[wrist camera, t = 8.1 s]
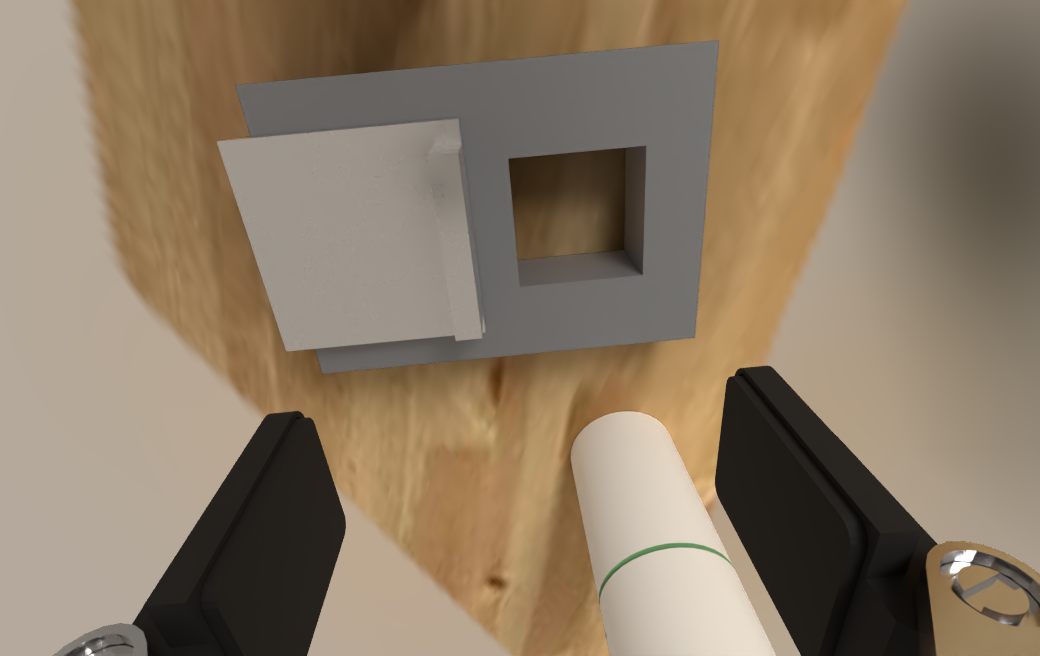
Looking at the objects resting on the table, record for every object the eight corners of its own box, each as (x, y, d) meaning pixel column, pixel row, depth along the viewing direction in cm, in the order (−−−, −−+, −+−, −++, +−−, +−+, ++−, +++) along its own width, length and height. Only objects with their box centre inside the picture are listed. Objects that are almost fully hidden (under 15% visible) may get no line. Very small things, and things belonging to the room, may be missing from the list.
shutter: (225, 139, 22) (184, 150, 19) (459, 117, 22) (454, 124, 19) (291, 343, 27) (266, 378, 24) (485, 325, 27) (484, 357, 24)
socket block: (271, 82, 25) (234, 85, 21) (686, 43, 25) (718, 40, 21) (341, 338, 31) (322, 373, 28) (671, 306, 31) (694, 337, 28)
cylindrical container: (584, 501, 38) (714, 1110, 16) (558, 428, 35) (675, 1062, 13) (679, 475, 38) (954, 1075, 15) (661, 398, 34) (975, 1014, 12)
